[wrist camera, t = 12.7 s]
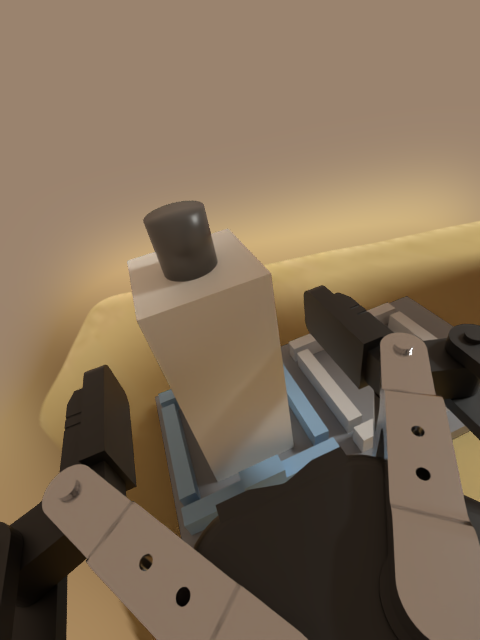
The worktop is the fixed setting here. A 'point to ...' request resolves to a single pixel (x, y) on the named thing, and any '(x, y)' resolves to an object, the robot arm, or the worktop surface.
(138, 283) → the white post with knob
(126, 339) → the worktop surface
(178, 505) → the plate
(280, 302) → the worktop surface
